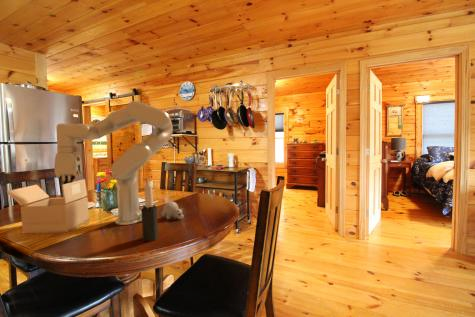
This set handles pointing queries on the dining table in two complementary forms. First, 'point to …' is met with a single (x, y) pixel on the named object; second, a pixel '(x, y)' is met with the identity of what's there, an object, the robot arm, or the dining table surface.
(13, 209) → the dining table surface
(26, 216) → the carton
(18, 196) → the flap
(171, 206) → the chubby cartoon animal
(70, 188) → the flap
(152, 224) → the candle
